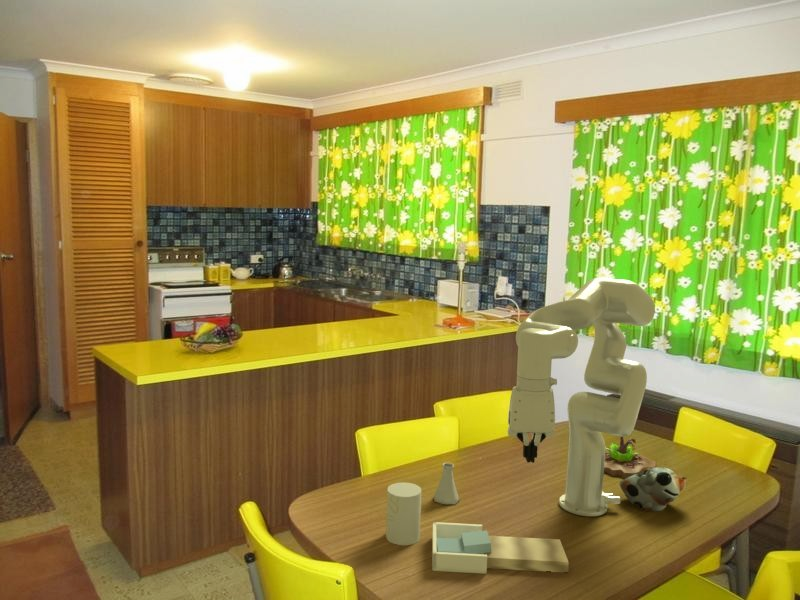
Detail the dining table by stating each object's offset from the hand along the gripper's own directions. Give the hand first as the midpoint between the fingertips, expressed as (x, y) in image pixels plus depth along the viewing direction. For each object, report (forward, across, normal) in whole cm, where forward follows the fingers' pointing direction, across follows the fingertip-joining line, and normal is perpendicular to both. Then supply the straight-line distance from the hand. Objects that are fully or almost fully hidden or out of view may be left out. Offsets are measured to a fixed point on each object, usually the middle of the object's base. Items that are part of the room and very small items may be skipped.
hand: (529, 460), depth 149 cm
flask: (+22, +18, -25) cm, 38 cm away
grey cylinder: (+22, +29, -3) cm, 36 cm away
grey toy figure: (+23, -39, -27) cm, 53 cm away
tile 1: (+21, +18, +5) cm, 28 cm away
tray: (+21, +16, +4) cm, 27 cm away
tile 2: (+19, +12, +5) cm, 23 cm away
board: (+22, +1, +5) cm, 22 cm away
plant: (+24, -40, -55) cm, 72 cm away
